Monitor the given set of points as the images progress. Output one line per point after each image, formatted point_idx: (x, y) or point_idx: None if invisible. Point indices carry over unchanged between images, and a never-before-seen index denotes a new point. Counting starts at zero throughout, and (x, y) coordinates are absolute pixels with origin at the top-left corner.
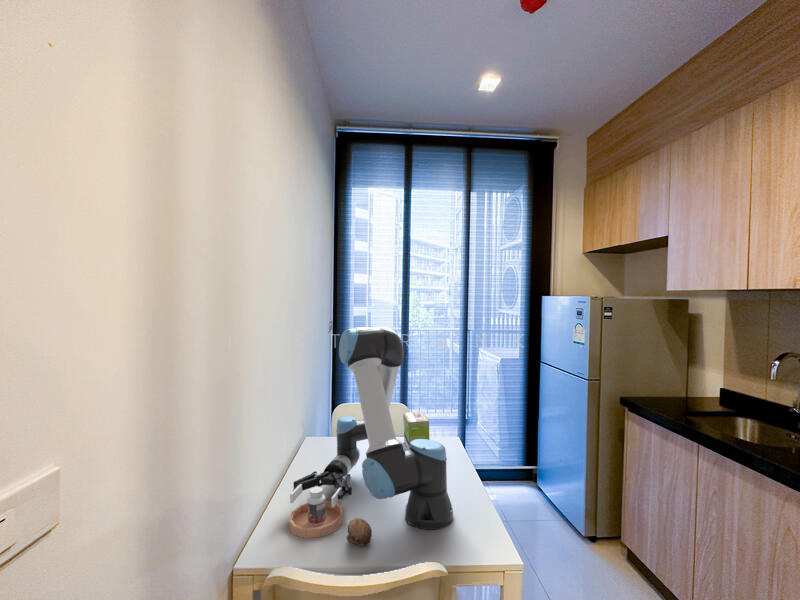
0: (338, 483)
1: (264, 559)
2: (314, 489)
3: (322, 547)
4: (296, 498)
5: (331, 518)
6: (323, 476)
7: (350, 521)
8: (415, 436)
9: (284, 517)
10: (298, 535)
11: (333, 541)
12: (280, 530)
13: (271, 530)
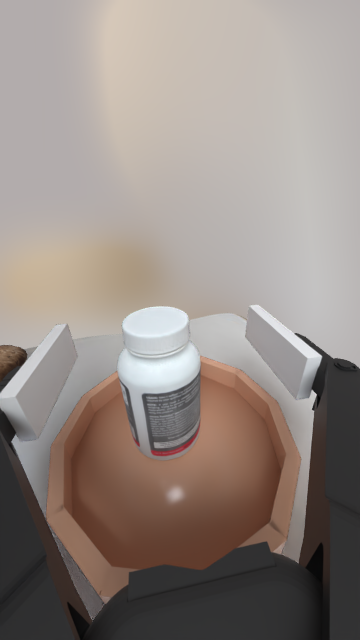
0: (15, 474)
1: (200, 324)
2: (166, 317)
3: (106, 364)
4: (261, 355)
5: (113, 467)
6: (323, 628)
7: (7, 358)
8: None
9: (312, 425)
10: None
11: (82, 384)
12: (250, 375)
13: (271, 369)
